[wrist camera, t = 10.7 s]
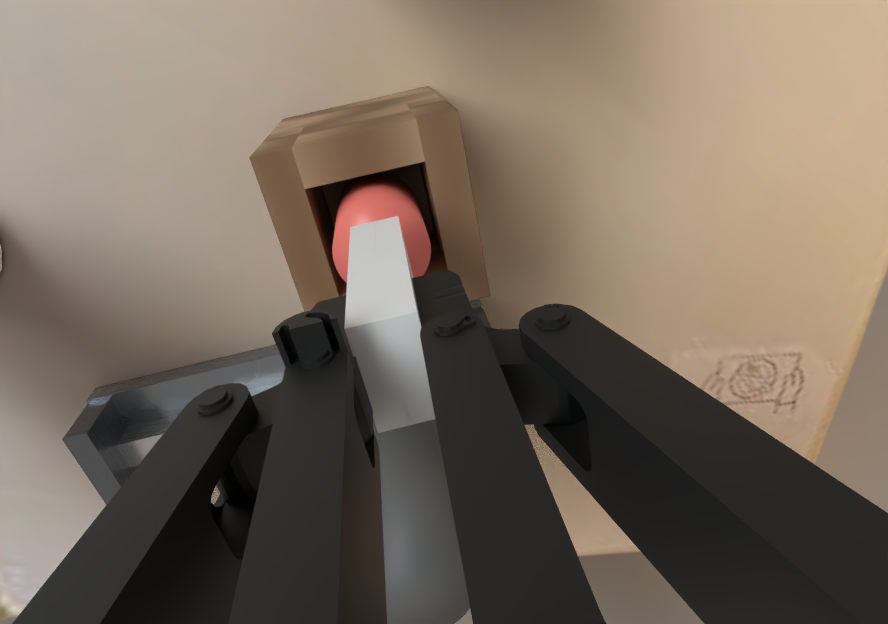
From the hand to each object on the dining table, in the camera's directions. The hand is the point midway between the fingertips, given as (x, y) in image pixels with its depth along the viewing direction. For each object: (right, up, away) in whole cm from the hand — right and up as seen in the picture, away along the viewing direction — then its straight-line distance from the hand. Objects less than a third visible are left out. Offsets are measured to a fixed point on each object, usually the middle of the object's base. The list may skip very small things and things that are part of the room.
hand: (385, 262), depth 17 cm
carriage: (-1, -6, +14) cm, 15 cm away
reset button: (-1, +2, +5) cm, 5 cm away
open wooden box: (-2, +5, +10) cm, 12 cm away
